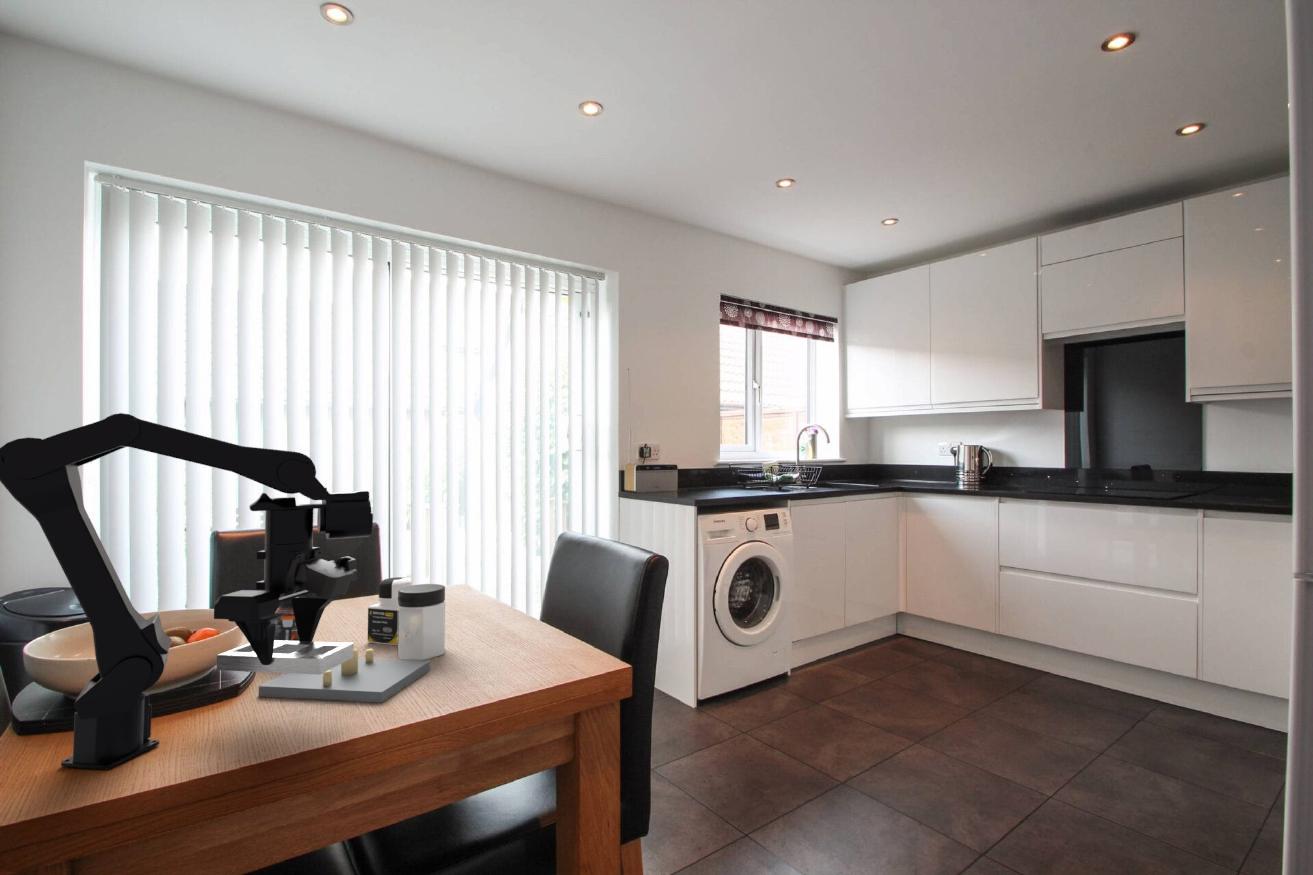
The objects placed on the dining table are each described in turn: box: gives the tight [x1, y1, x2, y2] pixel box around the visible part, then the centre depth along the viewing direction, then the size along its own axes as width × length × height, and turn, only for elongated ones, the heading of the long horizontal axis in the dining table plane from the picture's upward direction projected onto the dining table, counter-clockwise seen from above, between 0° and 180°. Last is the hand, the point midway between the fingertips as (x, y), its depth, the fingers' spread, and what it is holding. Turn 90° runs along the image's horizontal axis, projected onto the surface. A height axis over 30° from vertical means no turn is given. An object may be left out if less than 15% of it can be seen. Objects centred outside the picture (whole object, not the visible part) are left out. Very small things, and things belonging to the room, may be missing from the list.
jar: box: [397, 583, 446, 661], centre depth 111 cm, size 9×8×12 cm
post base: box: [258, 647, 431, 703], centre depth 96 cm, size 14×20×5 cm
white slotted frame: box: [216, 640, 355, 675], centre depth 83 cm, size 15×7×2 cm, turn 83°
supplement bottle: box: [274, 599, 300, 641], centre depth 109 cm, size 6×6×11 cm
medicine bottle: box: [367, 576, 413, 646], centre depth 120 cm, size 7×7×12 cm
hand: (287, 655), depth 83 cm, fingers closed on white slotted frame, 7 cm apart
